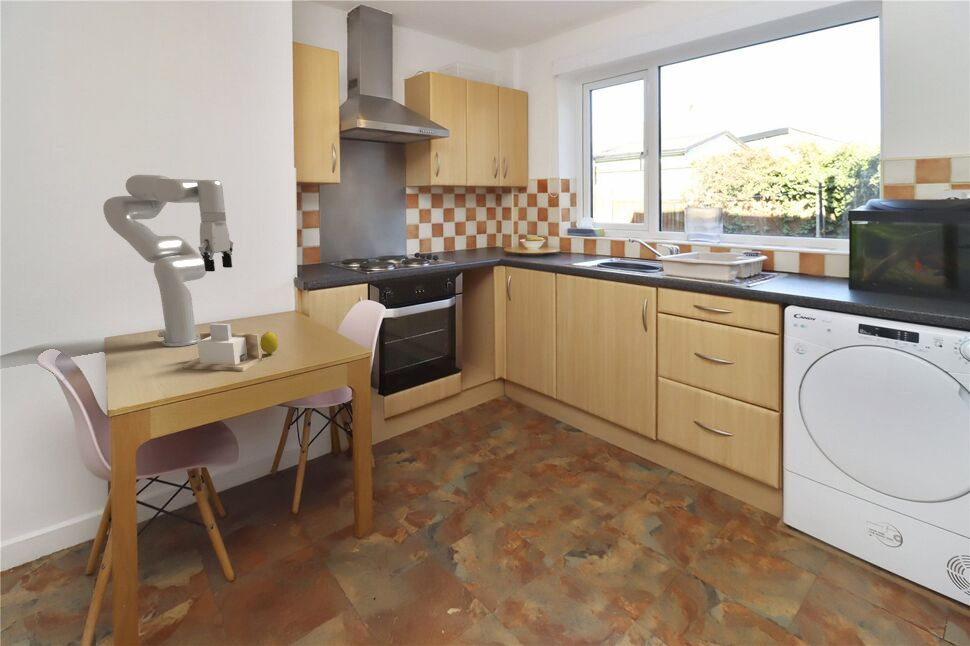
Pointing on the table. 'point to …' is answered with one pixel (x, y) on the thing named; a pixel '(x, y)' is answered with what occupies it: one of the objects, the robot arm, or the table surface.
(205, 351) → the white stepped block
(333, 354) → the table surface
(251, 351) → the cleat board
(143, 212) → the robot arm
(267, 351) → the lemon
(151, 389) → the table surface
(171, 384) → the table surface
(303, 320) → the table surface
